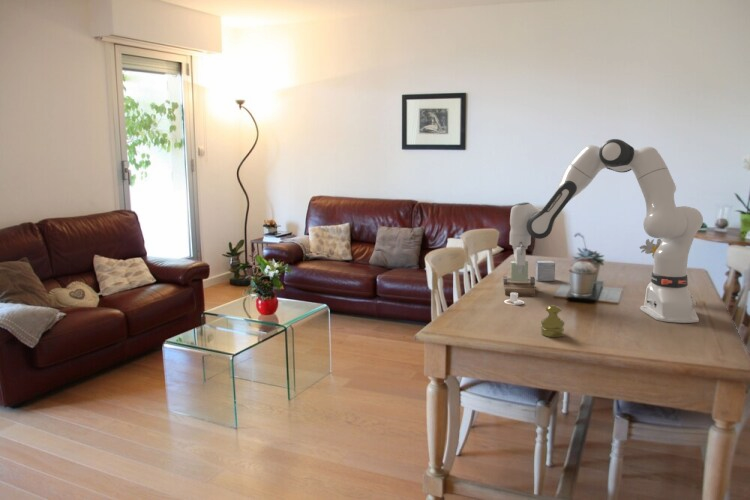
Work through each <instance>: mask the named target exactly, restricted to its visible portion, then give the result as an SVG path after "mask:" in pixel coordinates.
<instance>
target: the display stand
mask: <svg viewBox="0 0 750 500" xmlns="http://www.w3.org/2000/svg"><path fill="white" fill-rule="evenodd" d="M502 278H503V279H502V280H503V281H502V282H503V288H504V295H505V296H510V293H512V292H515V293H518V297H519V296H520V297H523V296H524V297H535V296H536V288H535V285H536V277H535V276H530V278H528V282H521V281H511V277H510V278H508V276H507V275H504V276H503V277H502Z"/></svg>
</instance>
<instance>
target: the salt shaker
mask: <svg viewBox="0 0 750 500" xmlns="http://www.w3.org/2000/svg"><path fill="white" fill-rule="evenodd" d="M545 310H546V312H547V313H548V315H547V316H546V317H545V318H543V319H542V320H541V327H540V328H541V329H540V333H541V335H542V336H545V337H549V338H560V337H563V336H564V332H565V331H564V330H565V328H564V326H565V321H564V320H563V319H561V318H560V317H559V316H558V314H559V313H561V311H562V308H561V307H559V306H557V305H555V304H551V305H548V306H546V307H545Z"/></svg>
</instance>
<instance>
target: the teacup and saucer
mask: <svg viewBox="0 0 750 500" xmlns="http://www.w3.org/2000/svg"><path fill="white" fill-rule="evenodd" d="M509 297H510V298H509V299H505V300H504V301H503V302H504V304H507V305H512V306H513V305H515V306H519V305H523V304H525V301H523V300H521V299H518V298H519V296H518V293H515V292H512V293H510V295H509ZM509 301H510V302H511V303H509Z"/></svg>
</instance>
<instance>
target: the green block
mask: <svg viewBox="0 0 750 500" xmlns="http://www.w3.org/2000/svg"><path fill="white" fill-rule="evenodd" d="M510 278H511V281H521V282H528V279H529V261H526V263H525V266H523V268H522V274H518V266H517V265H516V261H515V260H512V261H510Z"/></svg>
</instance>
